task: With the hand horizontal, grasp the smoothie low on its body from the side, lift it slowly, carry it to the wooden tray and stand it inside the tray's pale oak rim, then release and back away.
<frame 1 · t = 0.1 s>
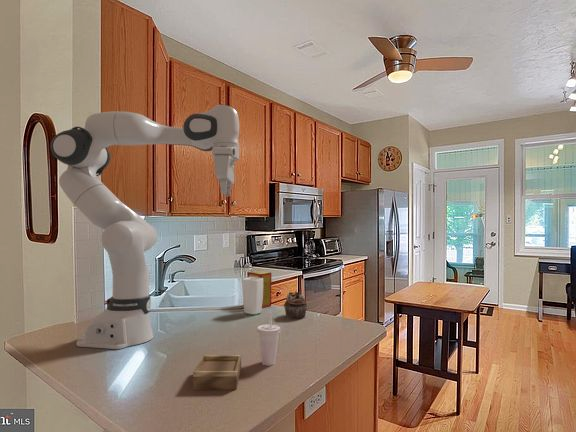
hand: (225, 195, 115), 48 cm above the table, tool pointing down, fingers open, 8 cm apart
baking soda box: (259, 306, 160), on the table
cup: (252, 314, 146), on the table
cupcake: (295, 317, 141), on the table
wooden tray: (218, 379, 84), on the table
smoothie: (268, 363, 94), on the table
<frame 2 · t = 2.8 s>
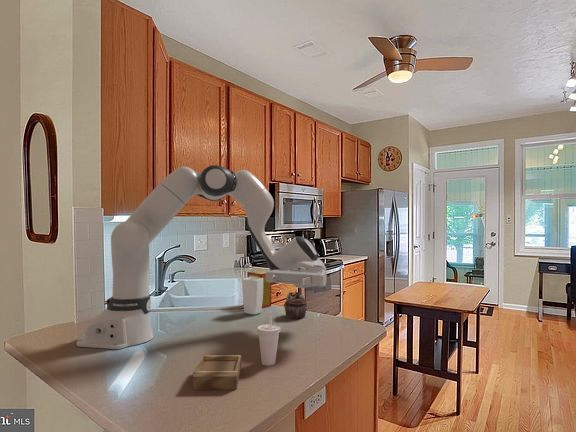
hand: (286, 281, 106), 21 cm above the table, tool horizontal, fingers open, 8 cm apart
nothing on the table moved.
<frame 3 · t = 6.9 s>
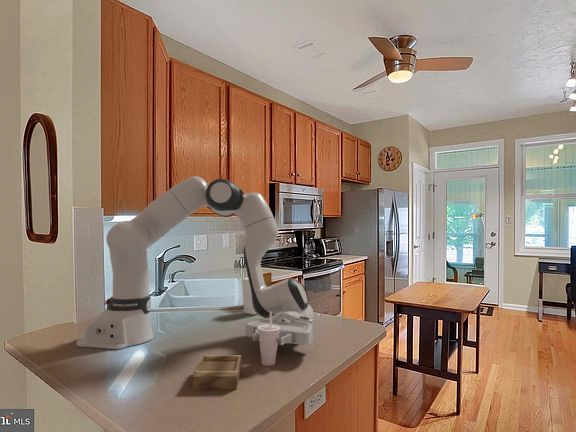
hand: (267, 339, 93), 7 cm above the table, tool horizontal, fingers closed on smoothie, 6 cm apart
smoothie: (268, 363, 94), on the table, touching gripper
everything else where it was.
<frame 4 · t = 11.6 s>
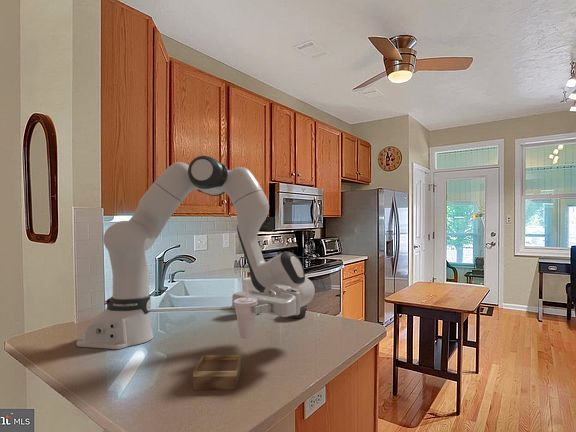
hand: (243, 307, 91), 16 cm above the table, tool horizontal, fingers closed on smoothie, 6 cm apart
smoothie: (247, 336, 92), point 8 cm above the table, touching gripper
everything else where it was.
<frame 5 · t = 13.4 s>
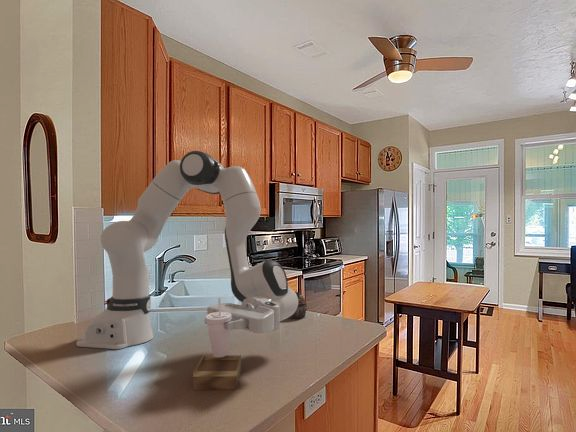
hand: (216, 323, 83), 14 cm above the table, tool horizontal, fingers closed on smoothie, 6 cm apart
smoothie: (220, 354, 84), point 6 cm above the table, touching gripper
everything else where it was.
when the fingers open (11 cm above the table, at t = 14.6 s): smoothie stays where it is, resting on wooden tray.
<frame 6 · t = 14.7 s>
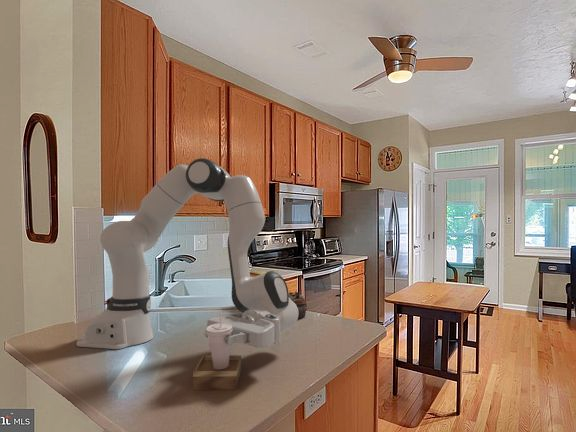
hand: (216, 337, 83), 10 cm above the table, tool horizontal, fingers open, 6 cm apart
smoothie: (221, 366, 84), point 3 cm above the table, touching wooden tray
everything else where it was.
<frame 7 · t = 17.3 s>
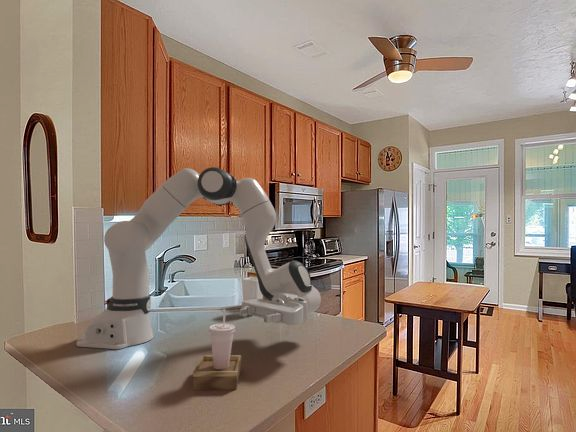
hand: (252, 316, 94), 13 cm above the table, tool horizontal, fingers open, 8 cm apart
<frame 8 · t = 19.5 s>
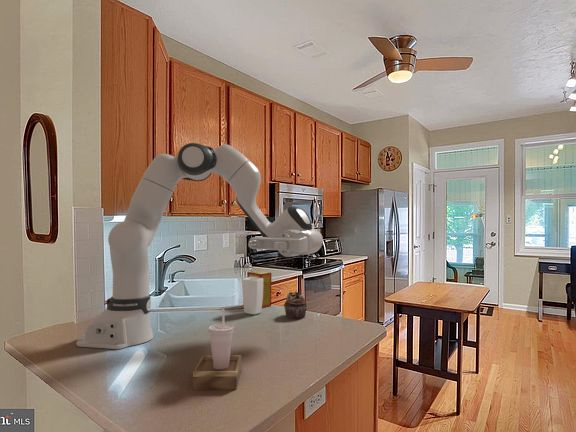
hand: (261, 244, 102), 32 cm above the table, tool horizontal, fingers open, 8 cm apart
nothing on the table moved.
at the end: smoothie 0.8 cm from the wooden tray (horizontally); smoothie tilted 1°; smoothie point 2.8 cm above the table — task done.
